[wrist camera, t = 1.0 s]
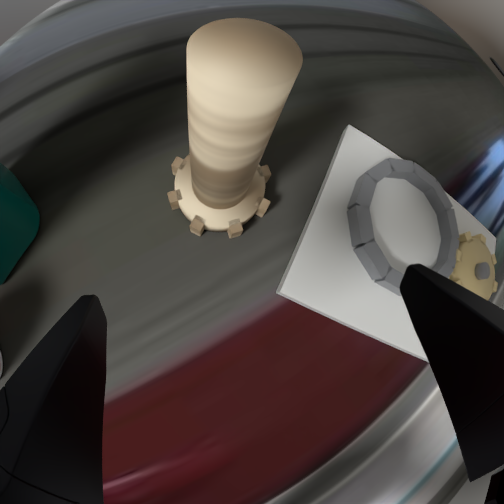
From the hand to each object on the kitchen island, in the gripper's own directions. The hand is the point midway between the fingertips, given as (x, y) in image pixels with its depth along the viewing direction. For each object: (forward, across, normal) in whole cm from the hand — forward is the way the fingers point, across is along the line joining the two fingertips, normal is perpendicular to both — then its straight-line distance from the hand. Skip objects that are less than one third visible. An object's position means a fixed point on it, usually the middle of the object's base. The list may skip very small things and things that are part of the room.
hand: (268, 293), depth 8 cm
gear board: (+10, -17, +8) cm, 22 cm away
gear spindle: (+15, 0, +4) cm, 16 cm away
